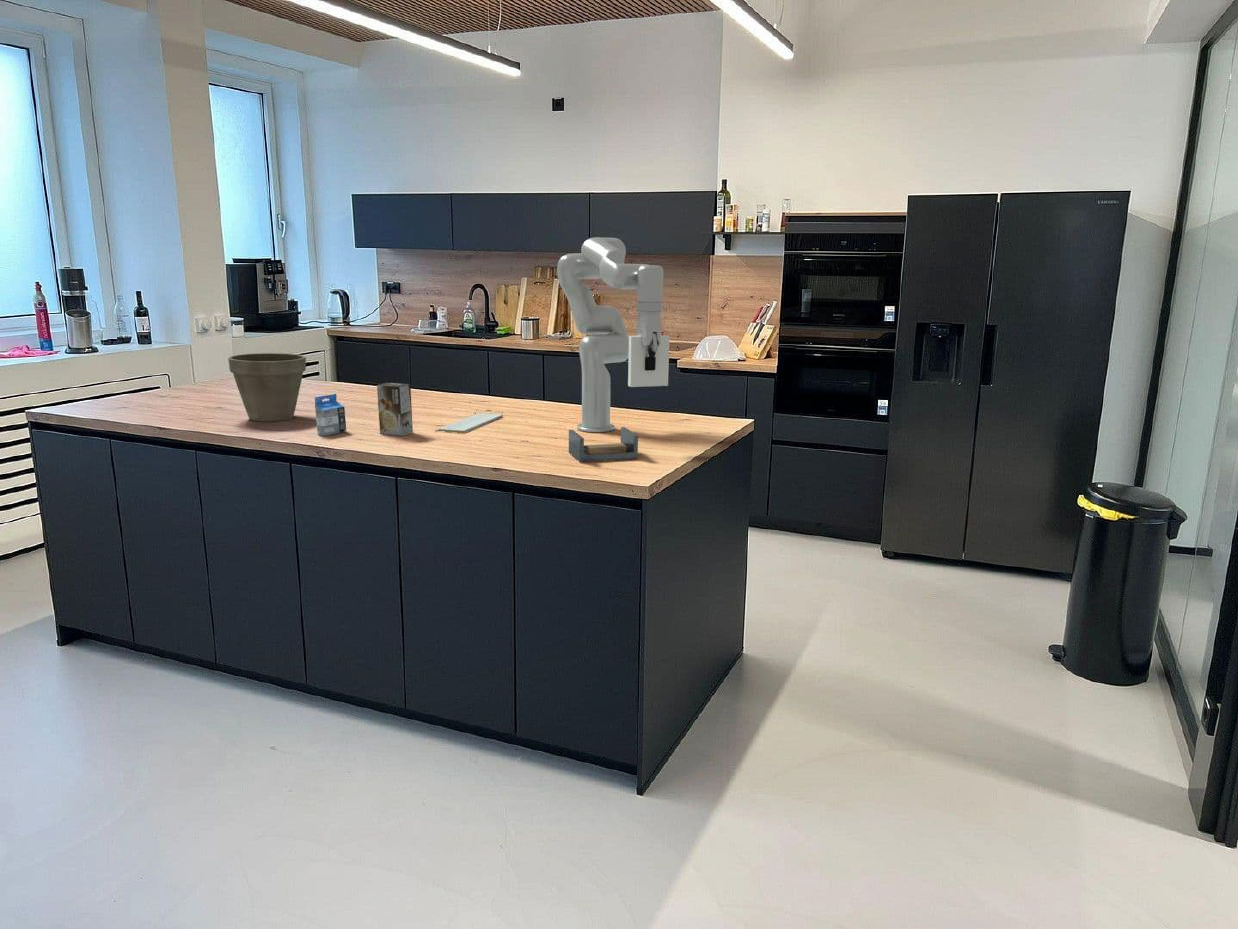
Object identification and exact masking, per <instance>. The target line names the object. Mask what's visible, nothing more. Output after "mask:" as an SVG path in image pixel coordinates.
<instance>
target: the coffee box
mask: <svg viewBox="0 0 1238 929" xmlns="http://www.w3.org/2000/svg"><path fill="white" fill-rule="evenodd" d="M376 391H377V392H376V394H377V408H378V421H379V422H378V423H379V433H380V435H389V436H391V435H392V436H400V437H401V436H402V437H404V436H407V435H410V434H413V433H414V431H413V430H414V428H413V425H414V424H413V409H412V408H413V407H412V392H411V391H412V390H411V384H409V383H396V382H384V383H380V384H378V385H376Z"/></svg>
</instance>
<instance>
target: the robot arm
mask: <svg viewBox="0 0 1238 929" xmlns="http://www.w3.org/2000/svg"><path fill="white" fill-rule="evenodd" d="M580 249H581V252H579V253H578V252H577V253H567V254H565V255H562V256H561V257H560V259H559V260H558V262H557V269H556V272H557V280H558V283H559V285H560V288H561V289H562V291H563V293H564V295H565V297H566V299H567V302H568V304H569V308H570V311H571V315H572V318H573V321H574V324H575V327H576V329H577V331H578V332H579V333H580V334H582V335H585V336H584V337H583V338H581V340H580V342H579V345H578V354H579V359H580V364H581V365H580V366H581V423H578V424H577V427H576V428H577V430H578V431H581V432H588V433H606V432H612V431H614V430H615V428H616V427H615V424H614V423H613V424H612V423H611V375H610V373H609V370H608V369H607V367H606V366H605V364H613V363H614V364H615V363H622V362H625V361H627V360H629V335H628V333H627V330H626V326H625V325H624V321H623V317H622V315H621V312H620V311H619V310H618V308H616V307H615V306H612V305H600V304H597V303H596V300H595V298H594V295H593V292H592V291H591V289H590V288H589V287H588V286H587V285H586V284H585V283H583V282H582V281H581V280H602V282H603V283H604V284H606V285H607V286H609V287H611V288H613V289H615V290H637V293H636V294H637V298H636V300H637V301H636V302H637V304H636V306H637V308H636V313H637V318H636V319H637V321H636V332H635V333H636V334H635V336H641V345H642V346H643V347H646V357H645V370H646V371H649V370H655V364H656V351H657V350H658V346H659V345H660V341H661V335H662V331H661V330H662V327H661V325H662V324H661V322H662V321H661V314H663V302H664V301H663V300H664V298H663V297H664V296H663V295H664V269H663V267H662V266H661V265H656V264H655V265H654V264H653V265H652V264H651V265H650V264H647V263H646V264H645V263H625V261H626V260H625V258H626V255H627V249H626V246H625V243H624V242H623V241H622V240H621V239H619V238H617V237H598V236H596V237H590V238H587V239H586V240H585V241H584V242H583V243H582V245H581V248H580ZM586 335H587V336H586ZM649 345H652V346H649ZM649 349H650V350H649Z"/></svg>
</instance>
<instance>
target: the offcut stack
mask: <svg viewBox="0 0 1238 929" xmlns="http://www.w3.org/2000/svg"><path fill="white" fill-rule="evenodd" d="M585 445H586V452H584V455H591V454H608V453H625V452H626V445H624V444H623V443H621V442H618V443H616V442H615V443H602V444H601V443H600V444H585Z"/></svg>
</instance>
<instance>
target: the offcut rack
mask: <svg viewBox="0 0 1238 929" xmlns="http://www.w3.org/2000/svg"><path fill="white" fill-rule="evenodd" d="M620 443H623V444H624V445H626V452H625V453H608V454H591V455H584V452H586V445H587V444H585V438H584V437H583V436H581V435H580V434H579V433H577V432H576V431H575V430H574V429H568V454H569V453H570V454H569V455H571V454H572V455H571V456H572V457H573V458H574V459H575V460H576V461H577V460H578V461H579V462H578V461H577V462H578V463H580V462H583V463H593V462H592V461H599V462H607V461H606V460H615V461H626V460H627V461H629V460H638V458H639V453H638V452H639V444H638V443H639V435H638V434H637V433H635V432H633V431H631V430H630V429H628V428H627V427H625V426H622V427H621V426H620ZM604 460H605V461H604Z"/></svg>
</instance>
